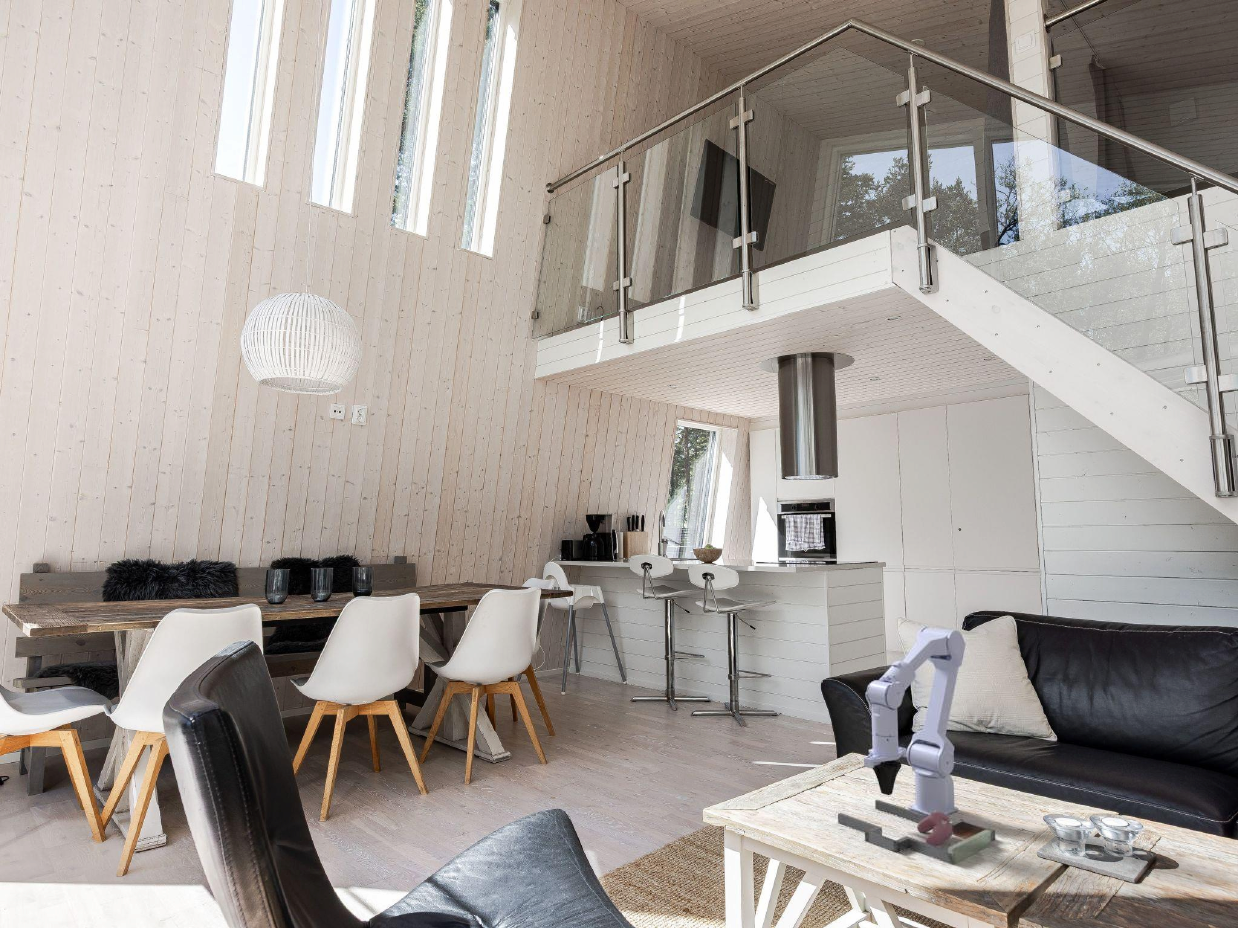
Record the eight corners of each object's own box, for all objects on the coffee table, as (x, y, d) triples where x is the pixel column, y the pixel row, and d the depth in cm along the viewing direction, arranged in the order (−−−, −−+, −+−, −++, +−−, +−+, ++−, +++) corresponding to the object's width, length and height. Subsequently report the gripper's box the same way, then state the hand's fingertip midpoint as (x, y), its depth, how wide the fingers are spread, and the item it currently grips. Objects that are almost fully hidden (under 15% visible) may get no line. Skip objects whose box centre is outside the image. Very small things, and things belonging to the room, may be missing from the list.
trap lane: (887, 804, 190) (886, 791, 190) (999, 840, 168) (999, 826, 168) (827, 826, 175) (827, 813, 176) (942, 869, 153) (942, 853, 154)
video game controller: (944, 856, 163) (959, 827, 163) (924, 845, 164) (938, 816, 164) (933, 838, 173) (947, 811, 173) (914, 827, 174) (928, 800, 174)
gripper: (887, 725, 186) (888, 782, 185) (851, 735, 177) (853, 795, 176) (913, 731, 181) (915, 790, 179) (878, 741, 172) (880, 803, 170)
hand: (886, 793), depth 177 cm, fingers closed
